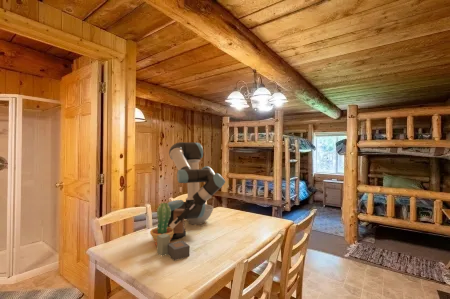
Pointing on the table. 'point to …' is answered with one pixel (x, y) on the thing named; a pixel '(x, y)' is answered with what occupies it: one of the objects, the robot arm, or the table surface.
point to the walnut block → (180, 226)
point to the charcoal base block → (178, 250)
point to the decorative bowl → (206, 215)
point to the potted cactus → (162, 222)
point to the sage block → (163, 244)
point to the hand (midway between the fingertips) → (172, 225)
